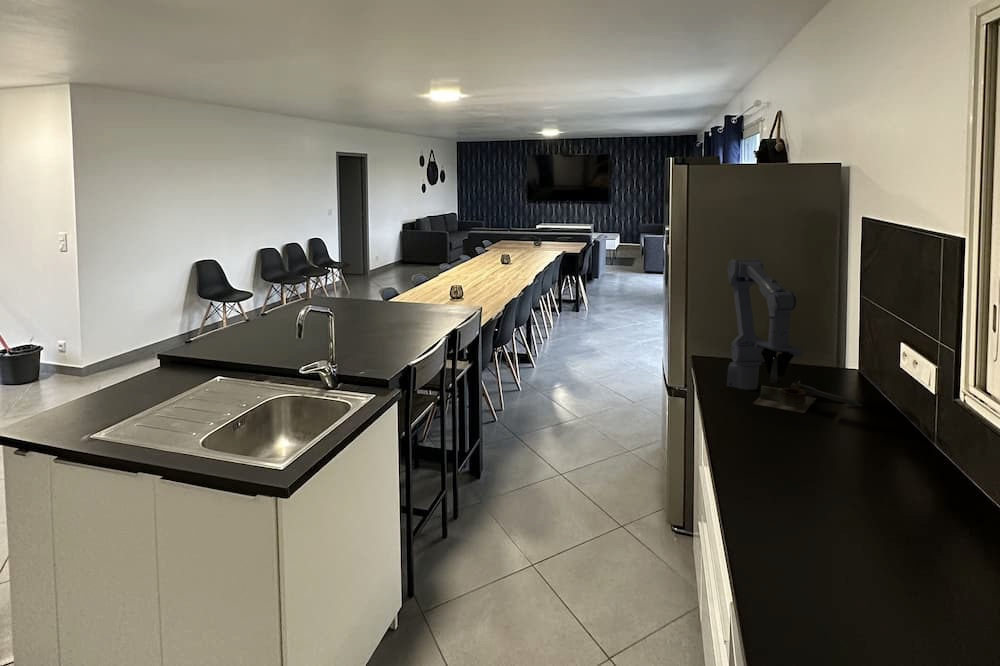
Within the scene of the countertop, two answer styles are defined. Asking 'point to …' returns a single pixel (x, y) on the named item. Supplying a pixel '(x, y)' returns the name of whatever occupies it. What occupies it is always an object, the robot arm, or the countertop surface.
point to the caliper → (824, 394)
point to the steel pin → (774, 370)
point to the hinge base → (785, 398)
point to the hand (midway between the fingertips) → (775, 374)
